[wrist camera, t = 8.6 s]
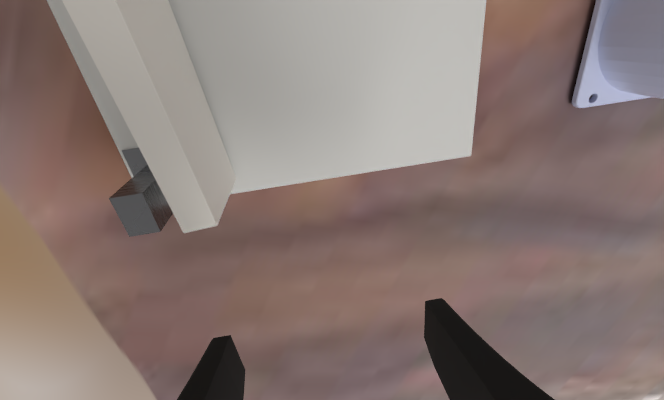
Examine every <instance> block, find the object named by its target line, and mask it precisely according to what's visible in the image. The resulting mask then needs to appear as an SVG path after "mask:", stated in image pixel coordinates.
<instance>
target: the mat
mask: <svg viewBox="0 0 664 400" xmlns="http://www.w3.org/2000/svg"><path fill="white" fill-rule="evenodd" d="M168 1H169V3H170V6H171V9H172V11H173V14H174V17H175V19H176V22H177V24H178V27H179V30H180V32H181V35H182V38H183V40H184V43H185V45H186V48H187V51H188V53H189V56H190V59H191V61H192V64H193V66H194V69H195V72H196V74H197V77H198V80H199V82H200V85H201V87H202V90H203V93H204V95H205V98H206V101H207V103H208V106H209V108H210V111H211V114H212V116H213V119H214V122H215V124H216V127H217V129H218V132H219V135H220V137H221V140H222V143H223V145H224V148H225V150H226V153H227V156H228V158H229V161H230V164H231V166H232V169H233V171H234V174H235V177H236V181H235V183H234V186H233V188H232V191H231V193H230V194H234V193H241V192H247V191H253V190H260V189H266V188H272V187H278V186H285V185H291V184H297V183H304V182H310V181H316V180H322V179H329V178H335V177H341V176H348V175H354V174H360V173H366V172H373V171H379V170H385V169H392V168H398V167H404V166H410V165H417V164H423V163H429V162H436V161H442V160H448V159H454V158H461V157H467V156H471V152H472V142H473V131H474V121H475V111H476V100H477V90H478V80H479V70H480V59H481V49H482V39H483V29H484V18H485V8H486V0H168ZM47 2H48V4H49V6H50V8H51V11H52V13H53V15H54V17H55V19H56V21H57V23H58V25H59V27H60V29H61V31H62V33H63V36H64V38H65V40H66V42H67V44H68V46H69V48H70V50H71V52H72V54H73V56H74V59H75V61H76V63H77V65H78V67H79V69H80V71H81V73H82V75H83V77H84V79H85V81H86V84H87V86H88V88H89V90H90V92H91V94H92V96H93V98H94V100H95V102H96V104H97V106H98V109H99V111H100V113H101V115H102V117H103V119H104V121H105V123H106V125H107V127H108V129H109V132H110V134H111V136H112V138H113V140H114V142H115V144H116V146H117V148H118V150H119V152H120V154H121V157H122V159H123V161H124V163H125V165H126V167H127V169H128V171H129V173H130V175H131V177H132V178H133V177H134V176H133V174H132V172H131V170H130V168H129V165H128V163H127V161H126V159H125V157H124V155H123V153H122V150H126V149H132V148H139V147H138V145H137V143H136V141H135V139H134V137H133V135H132V134H131V132H130V130H129V128H128V126H127V124H126V122H125V120H124V118H123V116H122V114H121V112H120V111H119V109H118V107H117V105H116V103H115V101H114V99H113V97H112V95H111V93H110V91H109V90H108V88H107V86H106V84H105V82H104V80H103V78H102V76H101V74H100V72H99V70H98V68H97V67H96V65H95V63H94V61H93V59H92V57H91V55H90V53H89V51H88V49H87V47H86V45H85V44H84V42H83V40H82V38H81V36H80V34H79V32H78V30H77V28H76V26H75V24H74V22H73V21H72V19H71V17H70V15H69V13H68V11H67V9H66V7H65V5H64V3H63V1H62V0H47Z"/></svg>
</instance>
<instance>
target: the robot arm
mask: <svg viewBox="0 0 664 400" xmlns="http://www.w3.org/2000/svg"><path fill="white" fill-rule="evenodd" d="M591 95H592V97H591V99H590V100H589V98H590V96H591ZM650 97H656V98H661V99H664V0H596V3H595V7H594V11H593V15H592V19H591V23H590V28H589V32H588V36H587V40H586V44H585V48H584V52H583V57H582V61H581V65H580V69H579V73H578V77H577V81H576V86H575V90H574V94H573V98H572V104H573V106H575V107H578V108H586V107H592V106H599V105H605V104H612V103H618V102H624V101H631V100H637V99H644V98H650ZM424 338H425V341H426V344H427V347H428V350H429V353H430V356H431V359H432V361H433V364H434V367H435V369H436V371H437V373H438V375H439V378H440V380H441V382H442V384H443V386H444V388H445V390H446V393H447V395H448V397H449V399H450V400H554V399H553V398H552V397H550V396H549V395H548V394H546V393H545V392H544V391H543V390H541V389H540V388H539V387H537V386H536V385H535V384H534V383H532V382H531V381H530V380H529V379H527V378H526V377H525V376H524V375H522V374H521V373H520V372H519V371H518V370H517V369H515V368H514V367H513V366H512V365H511V364H510V363H508V362H507V361H506V360H505V359H504V358H503V357H501V356H500V355H499V354H498V353H497V352H496V351H495V350H494V349H493V348H492V347H491V346H489V345H488V344H487V343H486V342H485V341H484V340H483V339H482V338H481V337H480V336H479V335H478V334H477V333H476V332H475V331H474V330H473V329H472V328H471V327H470V326H469V325H468V324H467V323H466V322H465V321H464V320H463V319H462V318H461V317H460V316H459V315H458V314H457V313H456V312H455V311H454V310H453V309H452V308H451V307H450V306H449V305H448V304H447V303H446V302H445V300H443V299H442V298H440V299H434V300H429V301H425V330H424ZM244 381H245V368H244V366H243V364H242V361H241V359H240V357H239V354H238V352H237V350H236V347H235V345H234V343H233V340H232V338H231V335H229V336H223V337H217V338H213V339H212V341H211V342H210V344H209V346H208V348H207V350H206V351H205V353H204V355H203V357H202V358H201V360H200V362H199V364H198V365H197V367H196V369H195V371H194V372H193V374H192V376H191V377H190V379H189V381H188V382H187V384H186V386H185V387H184V389H183V391H182V392H181V394H180V395H179V397H178V399H177V400H243V396H244Z"/></svg>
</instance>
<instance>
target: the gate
mask: <svg viewBox="0 0 664 400" xmlns="http://www.w3.org/2000/svg"><path fill="white" fill-rule="evenodd" d="M62 1H63V3H64V5H65V7H66V9H67V11H68V13H69V15H70V17H71V19H72V21H73V22H74V24H75V26H76V28H77V30H78V32H79V34H80V36H81V38H82V40H83V42H84V44H85V45H86V47H87V49H88V51H89V53H90V55H91V57H92V59H93V61H94V63H95V65H96V67H97V68H98V70H99V72H100V74H101V76H102V78H103V80H104V82H105V84H106V86H107V88H108V90H109V91H110V93H111V95H112V97H113V99H114V101H115V103H116V105H117V107H118V109H119V111H120V112H121V114H122V116H123V118H124V120H125V122H126V124H127V126H128V128H129V130H130V132H131V134H132V135H133V137H134V139H135V141H136V143H137V145H138V147H139V149H140V151H141V153H142V155H143V157H144V158H145V160H146V162H147V164H148V166H149V168H150V170H151V172H152V174H153V176H154V178H155V179H156V181H157V183H158V185H159V187H160V189H161V191H162V193H163V195H164V197H165V199H166V201H167V202H168V204H169V206H170V208H171V210H172V212H173V214H174V216H175V218H176V220H177V222H178V224H179V225H180V227H181V229H182V231H183V233H187V232H192V231H196V230H200V229H205V228H209V227H214V226H217V225H218V223H219V220H220V218H221V215H222V213H223V210H224V208H225V205H226V203H227V201H228V198H229V196H230V193H231V191H232V188H233V186H234V183H235V181H236V177H235V174H234V171H233V169H232V166H231V164H230V161H229V158H228V156H227V153H226V150H225V148H224V145H223V143H222V140H221V137H220V135H219V132H218V129H217V127H216V124H215V122H214V119H213V116H212V114H211V111H210V108H209V106H208V103H207V101H206V98H205V95H204V93H203V90H202V87H201V85H200V82H199V80H198V77H197V74H196V72H195V69H194V66H193V64H192V61H191V59H190V56H189V53H188V51H187V48H186V45H185V43H184V40H183V38H182V35H181V32H180V30H179V27H178V24H177V22H176V19H175V17H174V14H173V11H172V9H171V6H170V3H169V1H168V0H62Z"/></svg>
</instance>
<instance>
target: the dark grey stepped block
mask: <svg viewBox="0 0 664 400" xmlns="http://www.w3.org/2000/svg"><path fill="white" fill-rule="evenodd" d="M122 153H123V155H124V157H125V159H126V161H127V163H128V165H129V168H130V170H131V172H132V174H133V176H134V177H133V178H132V179H130V180H129V181H128V182H127V183H126V184H125V185H124V186H123V187H121V188H120V189H119V190H118V191H117V192H116V193H115V194H113V195H112V196H111V197H110V198H109V199H110V201H111V203H112V205H113V207H114V209H115V210H116V212H117V214H118V216H119V218H120V220H121V222H122V224H123V225H124V227H125V229H126V231H127V233H128V235H129V237H130V236H137V235H143V234H149V233H155V232H160V231H161V230H162V229H163V227H164V226H165V224H166V223H167V221H168V220H169V218H170V217H171V215H172V214H173V212H172V210H171V208H170V206H169V204H168V202H167V201H166V199H165V197H164V195H163V193H162V191H161V189H160V187H159V185H158V183H157V181H156V179H155V178H154V176H153V174H152V172H151V170H150V168H149V166H148V164H147V162H146V160H145V158H144V157H143V155H142V153H141V151H140V149H139V148H132V149H126V150H122Z"/></svg>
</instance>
